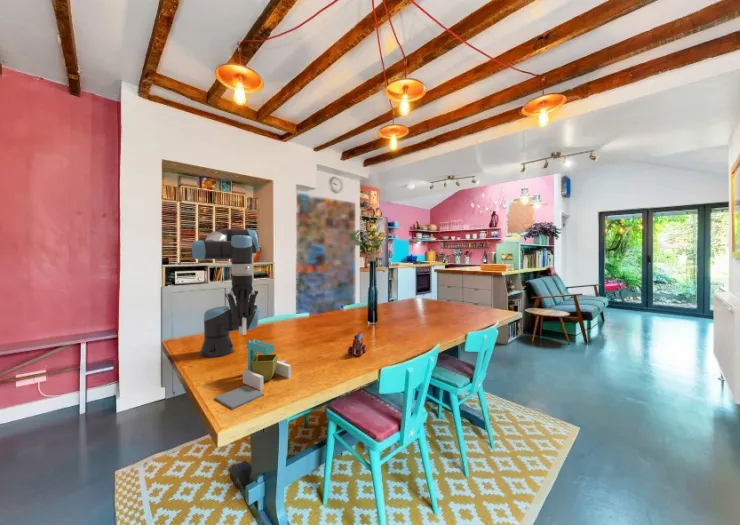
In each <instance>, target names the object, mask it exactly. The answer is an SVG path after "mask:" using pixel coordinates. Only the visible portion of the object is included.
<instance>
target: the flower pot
mask: <svg viewBox="0 0 740 525" xmlns="http://www.w3.org/2000/svg"><path fill="white" fill-rule="evenodd" d="M278 357H279V355H278V353H270V354H267V355H265V354H262V353H260V354H259V353H258V354H257V355H256V357H255V358H254V359H253V360H252V361H251V364H252V371H253V372H254V373H257V374H259V375H262V376H263V380H264V382H269V381H271V380H272V378H273V376H274V375H275V373H274V372H275V370H276V366H277V361H278Z"/></svg>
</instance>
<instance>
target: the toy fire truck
mask: <svg viewBox="0 0 740 525" xmlns="http://www.w3.org/2000/svg"><path fill="white" fill-rule="evenodd" d="M363 337H364V332H363V331H359V332H358V333H357V334H355V335H354V339H353V341H352V345H351V346H349V347H348V349H347V353H348V355H350V356H351V355H353V356H355V355H357V356H359V357H362V356H363V354H366V352H367V345H366V344H363V343H364V342H363V340H364V338H363Z"/></svg>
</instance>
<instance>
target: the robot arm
mask: <svg viewBox="0 0 740 525" xmlns="http://www.w3.org/2000/svg"><path fill="white" fill-rule="evenodd" d="M259 251H260V247H259V238H258V234H257V232H256V230H254V229H240V228H239V229H236V228H235V229H234V228H233V229H231V228H223V229H218V230H214V231H211V232H210V233H209V234H208V235H207V236H206V238H205V240H202V239H200V240H194V241H192V242H191V254H192V255H191V256H192V258H193V259H195V260H231V274H232V276H231V286H232V287H231V289H230V291H229V292H228V293H225V295H224V296H225V298H226V299H227V301H228V305H225V306H224V305H223V306H216V307H212V308H208V309H206V311H204V314H203V315H204V316H203V325H204V326H203V328H204V329H203V330H204V331H203V332H204V335H203V337H204V339H203V342H202V345H201V347H200V356H201V357H205V358H216V357H223V356H225V355H229V354H231V353H232V352H234V344H233V342H232V339H231V337H230V332H238V334H239V335H242V336H243V335H247V331H250V330H255V329H257V327H258V326H259V320H260V307H259V306H258V304H257V303H256V300H257V299H256V298H257V297H258V296H257V295H258V294H259V291H258V290H255V288H254V284H255V282H254V281H255V280H254V274H255V273H254V259H255V257H256V255H257V252H259Z"/></svg>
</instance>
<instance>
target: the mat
mask: <svg viewBox="0 0 740 525" xmlns="http://www.w3.org/2000/svg"><path fill="white" fill-rule="evenodd" d="M264 396H265V393H263V392H261V391H260V390H258V389H257V390H256V388H253V387H251V386H249V385H247V384H244V385H242V386H240V387H236V388H235V389H231V390H230V391H227V392H225V393H223V394H219V395H216V396H214V398H213V399H214V400H216V401H217V402H219V403H221V404H222V405H224V406H226V407H228V408H230V409H231V410H235V409H237V408H240V407H241V406H244V405H245V404H249V403H250V402H252V401H255V400H257V399H259V398H261V397H264Z"/></svg>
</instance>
